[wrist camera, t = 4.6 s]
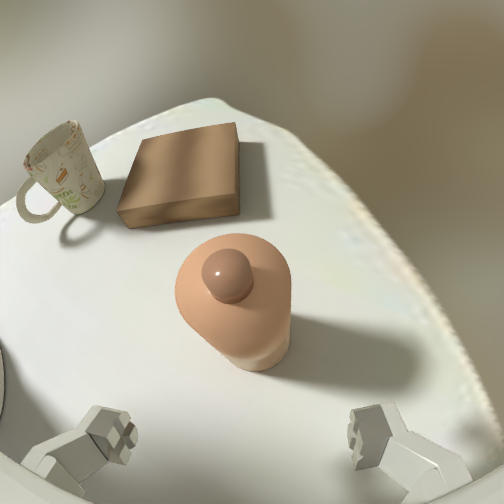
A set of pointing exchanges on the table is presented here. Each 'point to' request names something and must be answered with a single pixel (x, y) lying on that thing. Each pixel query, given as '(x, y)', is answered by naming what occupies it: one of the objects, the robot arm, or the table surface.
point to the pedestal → (183, 177)
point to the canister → (238, 299)
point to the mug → (62, 172)
